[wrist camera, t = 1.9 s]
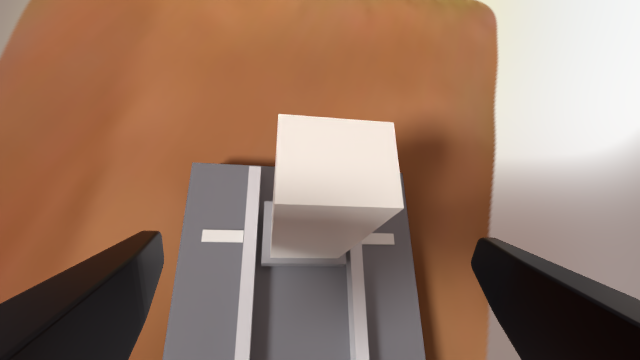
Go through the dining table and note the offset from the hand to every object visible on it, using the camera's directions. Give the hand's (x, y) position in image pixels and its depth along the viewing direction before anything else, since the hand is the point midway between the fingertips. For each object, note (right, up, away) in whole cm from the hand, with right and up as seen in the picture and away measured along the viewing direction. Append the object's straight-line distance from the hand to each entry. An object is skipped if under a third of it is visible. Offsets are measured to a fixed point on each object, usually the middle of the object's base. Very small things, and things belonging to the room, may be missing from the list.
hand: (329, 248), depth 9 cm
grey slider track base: (-1, -6, +8) cm, 10 cm away
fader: (-1, -1, +7) cm, 8 cm away
